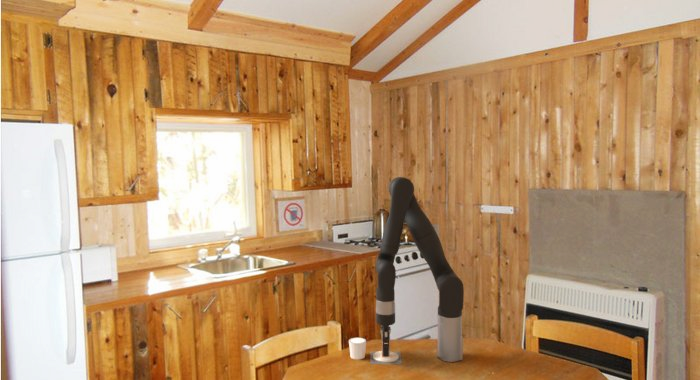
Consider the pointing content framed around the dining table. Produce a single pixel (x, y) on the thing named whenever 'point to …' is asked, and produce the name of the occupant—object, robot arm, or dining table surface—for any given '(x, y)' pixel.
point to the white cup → (357, 348)
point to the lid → (380, 358)
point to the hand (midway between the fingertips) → (385, 351)
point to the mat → (384, 363)
